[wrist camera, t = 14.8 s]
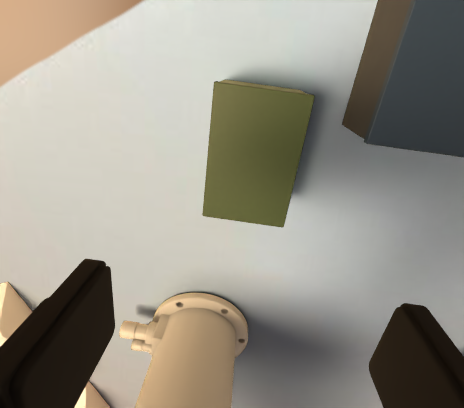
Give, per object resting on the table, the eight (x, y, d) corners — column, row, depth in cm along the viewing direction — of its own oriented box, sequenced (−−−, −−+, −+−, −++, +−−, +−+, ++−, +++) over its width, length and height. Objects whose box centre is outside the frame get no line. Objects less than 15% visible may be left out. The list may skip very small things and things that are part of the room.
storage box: (443, 140, 25) (502, 162, 19) (340, 125, 25) (366, 144, 19) (524, -36, 19) (640, -79, 14) (391, -53, 19) (450, -104, 14)
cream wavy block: (7, 281, 36) (-28, 313, 32) (128, 429, 50) (115, 466, 46) (-69, 299, 39) (-112, 330, 34) (66, 435, 53) (48, 470, 48)
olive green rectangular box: (278, 197, 28) (283, 227, 23) (212, 187, 28) (202, 216, 23) (301, 88, 24) (315, 95, 18) (223, 77, 24) (214, 81, 18)
